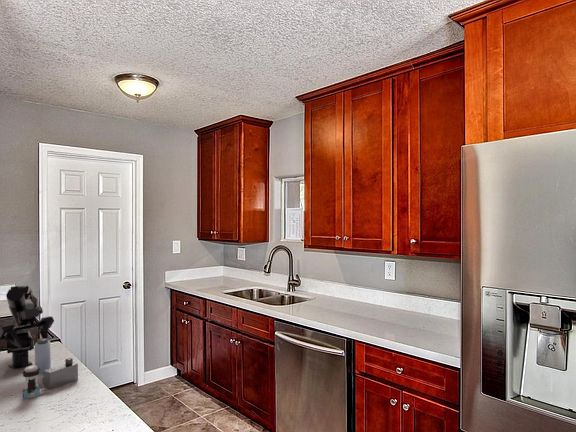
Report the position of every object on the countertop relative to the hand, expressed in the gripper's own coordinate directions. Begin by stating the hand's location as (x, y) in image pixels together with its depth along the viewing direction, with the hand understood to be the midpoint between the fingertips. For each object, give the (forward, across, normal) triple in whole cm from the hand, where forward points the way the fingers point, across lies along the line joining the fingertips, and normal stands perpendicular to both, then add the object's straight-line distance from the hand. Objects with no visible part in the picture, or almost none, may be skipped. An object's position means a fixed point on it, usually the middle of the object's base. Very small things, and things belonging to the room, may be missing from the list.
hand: (34, 345), depth 164 cm
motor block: (+19, +1, -2) cm, 19 cm away
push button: (+22, -10, -6) cm, 25 cm away
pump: (+12, +1, +5) cm, 12 cm away
